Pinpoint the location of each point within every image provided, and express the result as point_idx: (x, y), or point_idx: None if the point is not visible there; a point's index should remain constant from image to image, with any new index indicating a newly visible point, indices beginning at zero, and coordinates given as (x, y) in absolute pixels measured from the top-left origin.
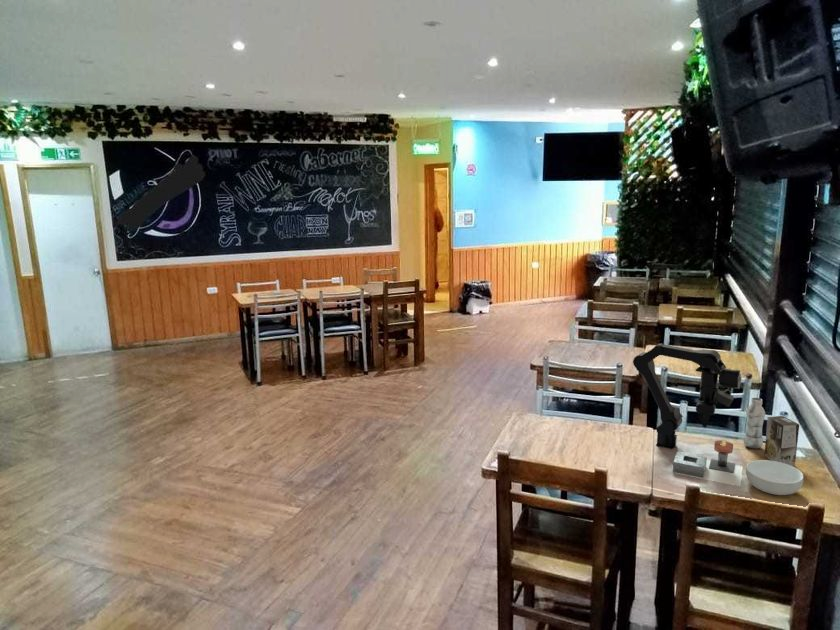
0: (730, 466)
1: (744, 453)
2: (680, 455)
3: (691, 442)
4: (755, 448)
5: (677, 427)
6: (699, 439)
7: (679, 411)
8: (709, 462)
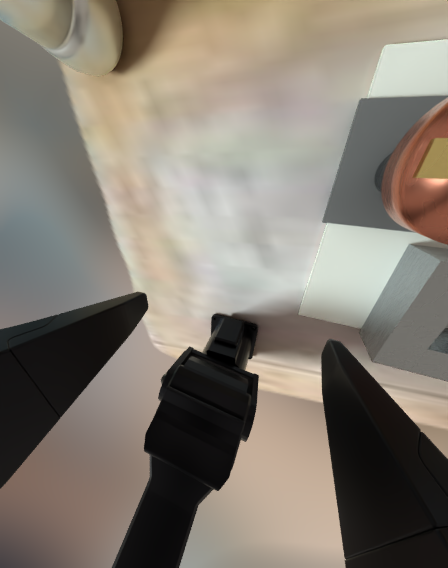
0: (412, 124)
1: (185, 67)
2: (424, 361)
3: (180, 272)
4: (116, 1)
5: (244, 386)
6: (148, 249)
7: (154, 419)
8: (351, 228)
